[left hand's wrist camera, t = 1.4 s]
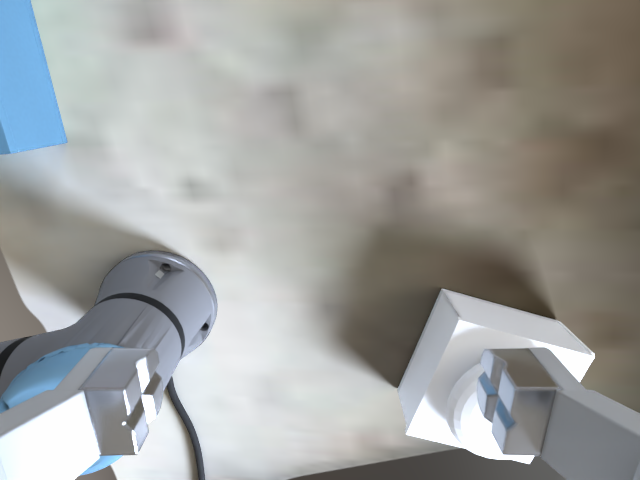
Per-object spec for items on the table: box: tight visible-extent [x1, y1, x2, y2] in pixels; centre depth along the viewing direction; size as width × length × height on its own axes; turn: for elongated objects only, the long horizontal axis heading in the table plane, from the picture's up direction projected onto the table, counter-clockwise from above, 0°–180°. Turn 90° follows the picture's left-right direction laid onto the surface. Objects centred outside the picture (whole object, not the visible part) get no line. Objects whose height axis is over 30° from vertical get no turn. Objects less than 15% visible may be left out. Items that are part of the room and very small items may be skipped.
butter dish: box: [397, 289, 595, 464], centre depth 52 cm, size 18×18×16 cm
